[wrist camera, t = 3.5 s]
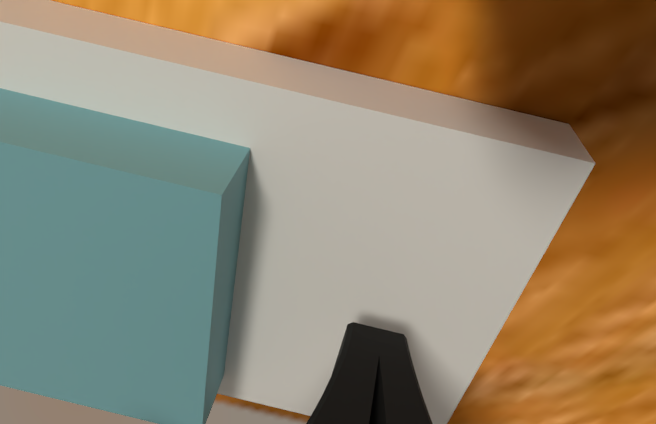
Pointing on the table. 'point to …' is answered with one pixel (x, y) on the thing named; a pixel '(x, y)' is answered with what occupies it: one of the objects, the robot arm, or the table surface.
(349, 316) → the plinth
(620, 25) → the table surface
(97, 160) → the tile
